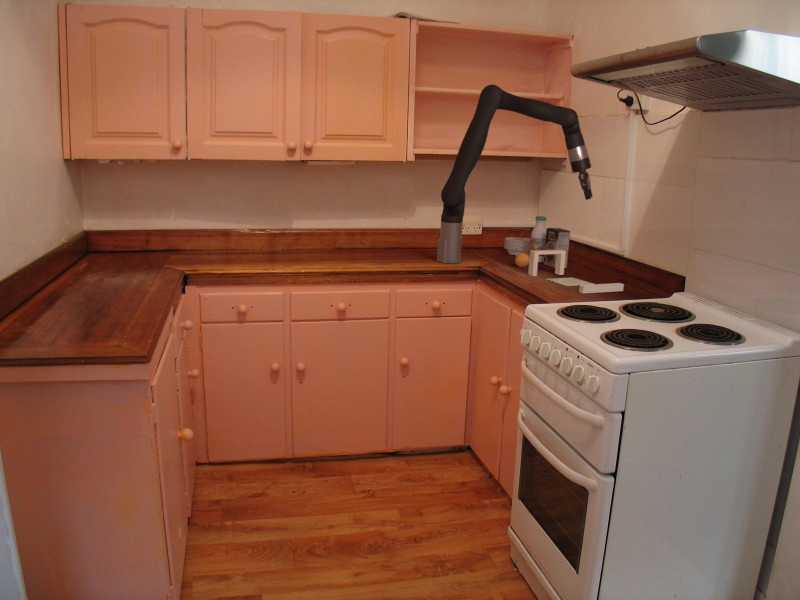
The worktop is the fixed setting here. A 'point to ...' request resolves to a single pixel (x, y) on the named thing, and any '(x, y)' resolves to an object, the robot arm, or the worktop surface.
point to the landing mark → (570, 281)
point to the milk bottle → (538, 237)
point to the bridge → (535, 253)
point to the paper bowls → (517, 245)
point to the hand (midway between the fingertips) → (589, 198)
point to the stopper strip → (601, 288)
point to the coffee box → (556, 245)
